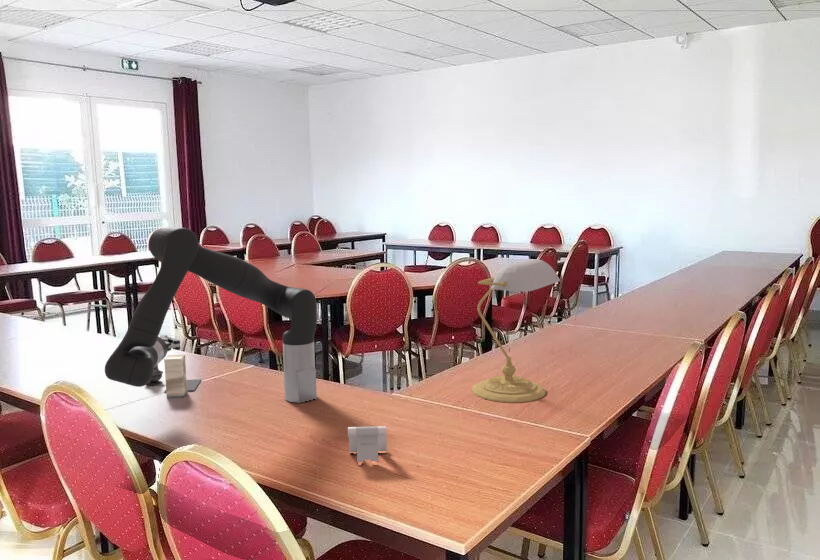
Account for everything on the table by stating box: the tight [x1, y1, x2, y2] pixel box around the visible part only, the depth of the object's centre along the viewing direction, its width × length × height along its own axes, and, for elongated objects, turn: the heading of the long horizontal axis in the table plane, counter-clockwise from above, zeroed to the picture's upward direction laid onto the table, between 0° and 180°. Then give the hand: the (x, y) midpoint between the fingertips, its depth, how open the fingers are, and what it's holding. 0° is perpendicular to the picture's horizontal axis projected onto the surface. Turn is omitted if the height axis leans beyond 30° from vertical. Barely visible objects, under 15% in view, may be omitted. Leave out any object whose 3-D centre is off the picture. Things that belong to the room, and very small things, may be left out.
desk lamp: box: [471, 258, 561, 404], centre depth 197 cm, size 31×23×40 cm
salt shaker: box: [145, 363, 164, 387], centre depth 211 cm, size 6×6×12 cm
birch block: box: [163, 354, 188, 399], centre depth 199 cm, size 5×5×12 cm
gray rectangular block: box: [163, 378, 202, 393], centre depth 208 cm, size 12×9×1 cm
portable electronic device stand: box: [347, 425, 388, 463], centre depth 150 cm, size 9×8×8 cm
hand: (164, 338), depth 187 cm, fingers closed
